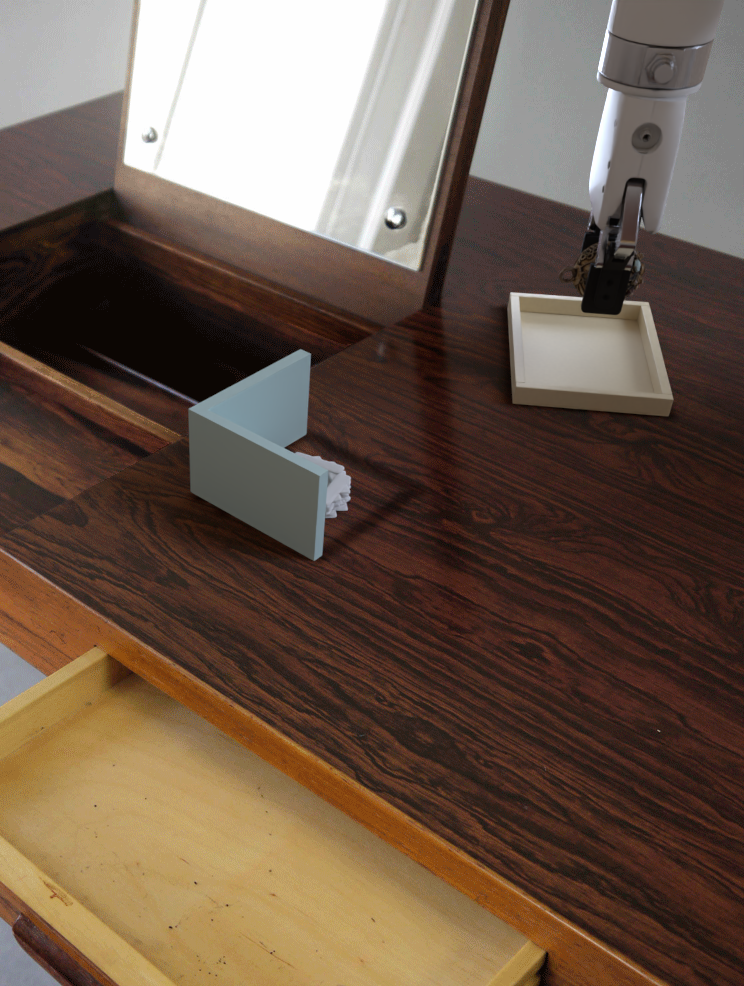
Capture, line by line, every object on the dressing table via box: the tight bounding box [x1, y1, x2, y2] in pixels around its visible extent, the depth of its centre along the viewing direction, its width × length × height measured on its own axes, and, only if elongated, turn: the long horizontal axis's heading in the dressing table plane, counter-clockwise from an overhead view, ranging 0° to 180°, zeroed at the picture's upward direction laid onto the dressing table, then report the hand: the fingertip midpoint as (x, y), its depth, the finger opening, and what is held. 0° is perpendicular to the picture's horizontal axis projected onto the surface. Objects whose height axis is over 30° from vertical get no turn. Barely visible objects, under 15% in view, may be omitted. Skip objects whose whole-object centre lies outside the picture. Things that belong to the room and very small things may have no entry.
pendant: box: [558, 241, 646, 301], centre depth 94 cm, size 5×8×5 cm, turn 104°
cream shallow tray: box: [507, 291, 674, 417], centre depth 99 cm, size 18×13×2 cm
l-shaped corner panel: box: [187, 348, 352, 562], centre depth 82 cm, size 12×12×8 cm
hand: (597, 293), depth 95 cm, fingers closed on pendant, 5 cm apart
